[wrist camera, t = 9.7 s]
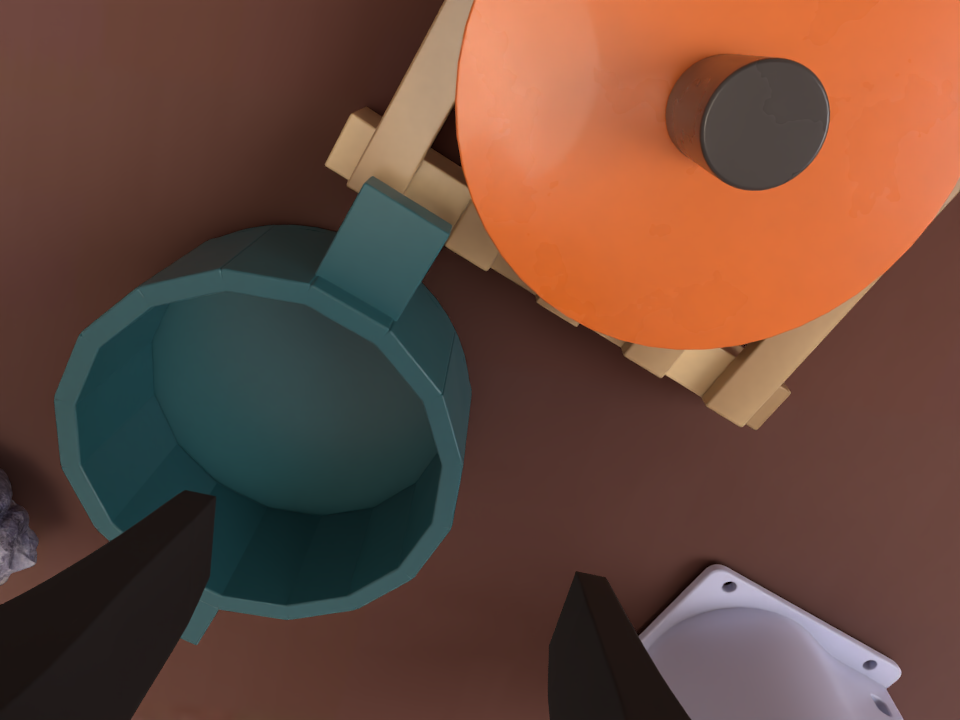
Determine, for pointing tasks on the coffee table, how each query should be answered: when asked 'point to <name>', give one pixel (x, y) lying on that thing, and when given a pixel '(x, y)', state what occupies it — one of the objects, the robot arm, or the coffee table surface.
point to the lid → (707, 154)
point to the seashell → (14, 534)
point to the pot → (281, 408)
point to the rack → (443, 191)
